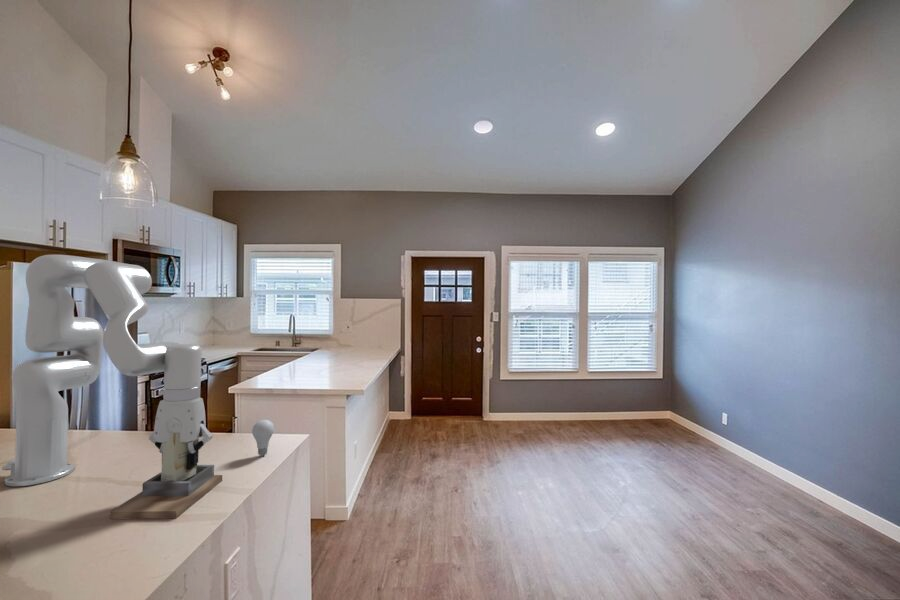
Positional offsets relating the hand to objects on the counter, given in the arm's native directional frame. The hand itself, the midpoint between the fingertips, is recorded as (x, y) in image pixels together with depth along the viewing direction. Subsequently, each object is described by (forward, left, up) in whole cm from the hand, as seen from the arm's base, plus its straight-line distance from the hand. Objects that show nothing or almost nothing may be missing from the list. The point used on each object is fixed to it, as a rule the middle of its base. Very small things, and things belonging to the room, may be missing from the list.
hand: (180, 466), depth 95 cm
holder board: (0, -3, -6) cm, 7 cm away
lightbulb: (+10, +23, -6) cm, 26 cm away
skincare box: (0, 0, -3) cm, 3 cm away
